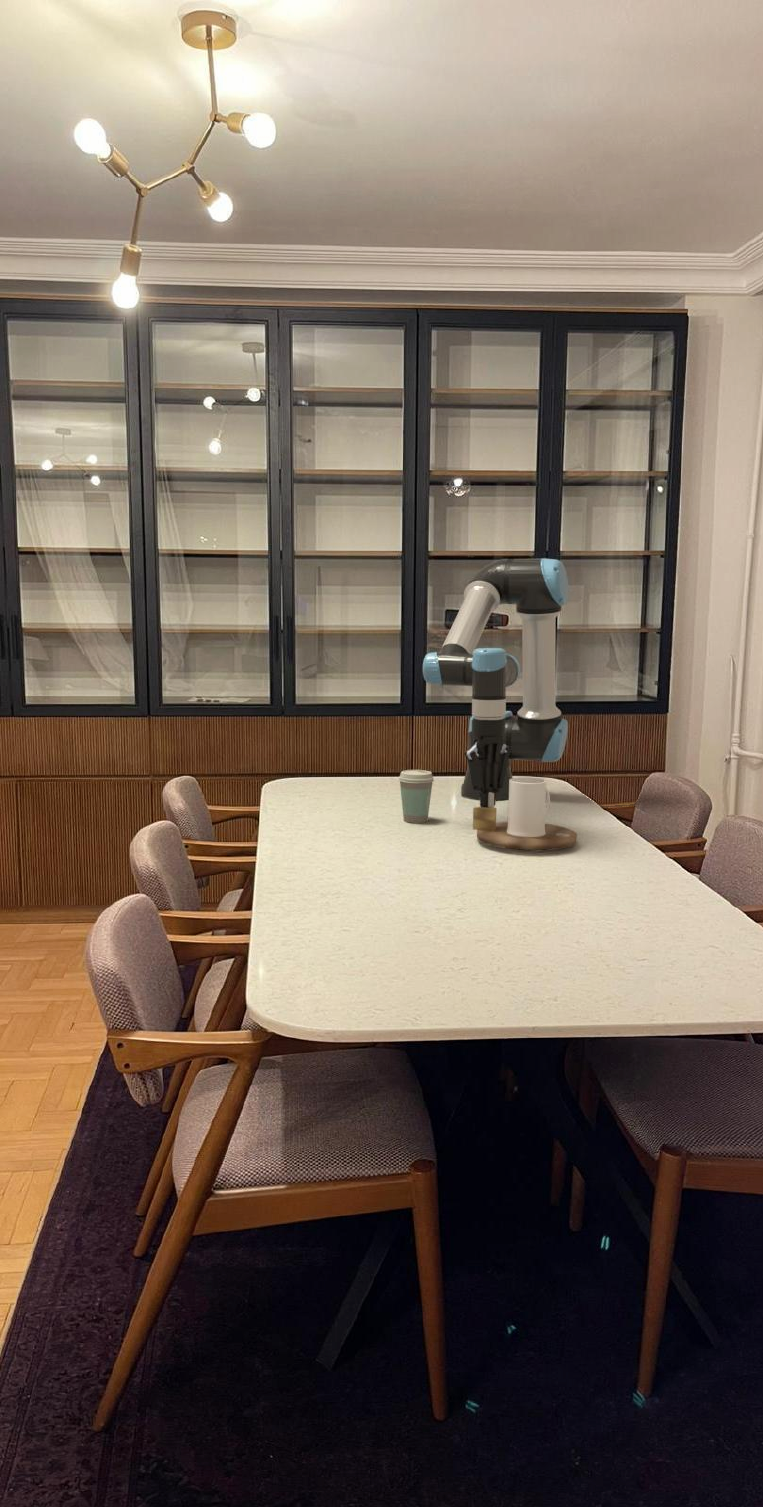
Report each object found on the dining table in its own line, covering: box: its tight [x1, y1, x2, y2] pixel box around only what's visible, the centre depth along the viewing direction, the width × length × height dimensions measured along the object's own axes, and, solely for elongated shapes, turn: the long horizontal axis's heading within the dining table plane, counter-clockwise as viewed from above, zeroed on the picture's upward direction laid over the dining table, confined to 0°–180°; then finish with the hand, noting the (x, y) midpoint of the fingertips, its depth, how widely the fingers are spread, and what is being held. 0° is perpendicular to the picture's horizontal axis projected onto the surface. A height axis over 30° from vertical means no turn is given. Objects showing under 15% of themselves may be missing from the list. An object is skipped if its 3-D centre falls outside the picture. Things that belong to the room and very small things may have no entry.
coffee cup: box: [398, 769, 435, 824], centre depth 253 cm, size 8×8×12 cm
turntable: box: [472, 805, 578, 851], centre depth 231 cm, size 23×22×6 cm
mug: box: [507, 776, 551, 838], centre depth 230 cm, size 12×8×12 cm
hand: (487, 820), depth 236 cm, fingers closed
